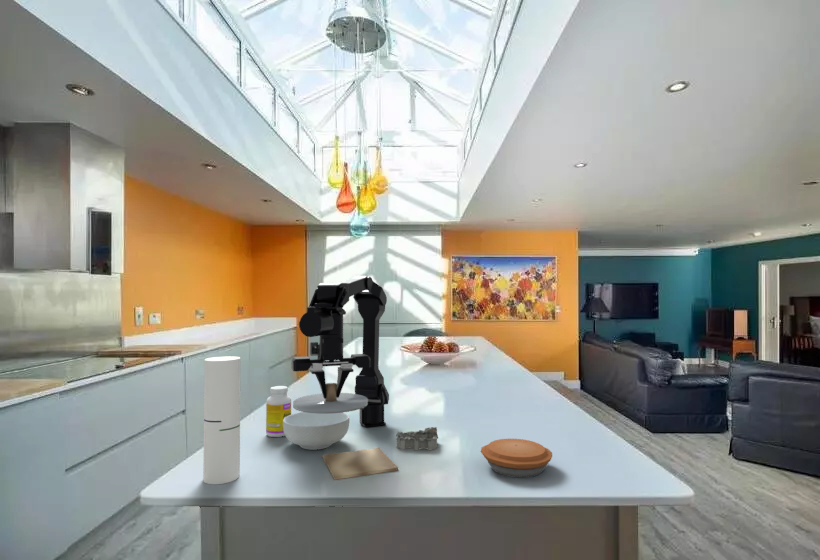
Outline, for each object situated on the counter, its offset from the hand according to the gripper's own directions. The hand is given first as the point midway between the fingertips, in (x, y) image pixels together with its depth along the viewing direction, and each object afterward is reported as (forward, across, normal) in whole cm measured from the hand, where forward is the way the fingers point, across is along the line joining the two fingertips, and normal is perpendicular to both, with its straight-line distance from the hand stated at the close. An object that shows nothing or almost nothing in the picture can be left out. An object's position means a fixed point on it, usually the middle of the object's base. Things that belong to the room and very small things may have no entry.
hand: (331, 397), depth 113 cm
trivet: (+13, -5, +10) cm, 17 cm away
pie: (+14, -37, +24) cm, 46 cm away
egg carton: (+14, -22, +2) cm, 26 cm away
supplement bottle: (+13, +11, -20) cm, 26 cm away
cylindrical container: (+14, +24, +8) cm, 29 cm away
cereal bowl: (+14, +2, -7) cm, 16 cm away
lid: (+2, 0, 0) cm, 2 cm away
